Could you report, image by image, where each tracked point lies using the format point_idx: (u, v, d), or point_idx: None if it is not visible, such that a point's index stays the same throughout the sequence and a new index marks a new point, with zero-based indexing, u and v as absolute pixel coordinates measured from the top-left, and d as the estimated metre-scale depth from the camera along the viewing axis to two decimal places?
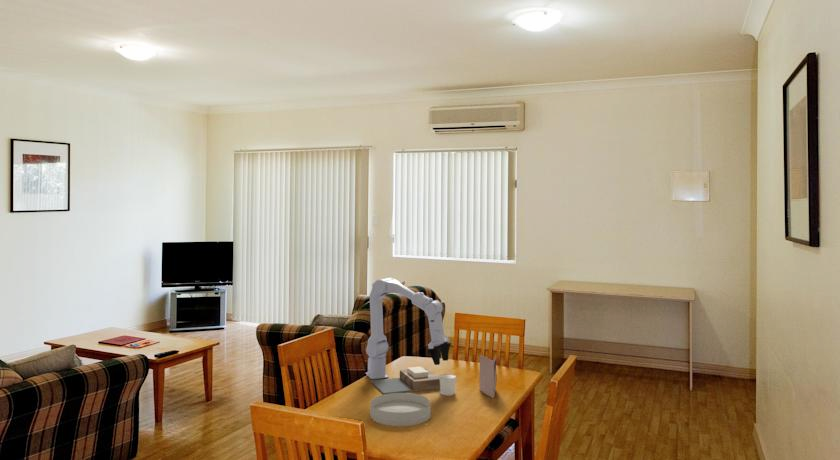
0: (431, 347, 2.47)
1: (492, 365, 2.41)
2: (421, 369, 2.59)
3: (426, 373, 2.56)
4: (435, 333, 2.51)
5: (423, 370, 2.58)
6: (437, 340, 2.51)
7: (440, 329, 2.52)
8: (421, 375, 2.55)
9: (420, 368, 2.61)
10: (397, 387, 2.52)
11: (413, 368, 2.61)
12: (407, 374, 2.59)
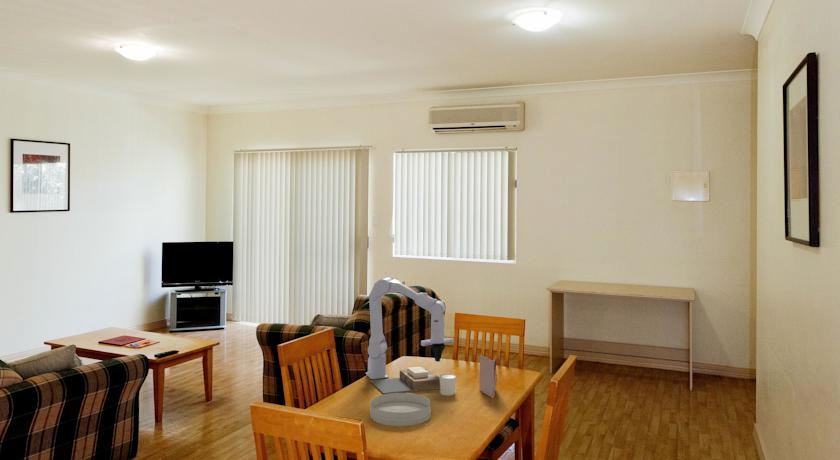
0: (422, 344, 2.59)
1: (492, 365, 2.41)
2: (421, 369, 2.59)
3: (426, 373, 2.56)
4: (432, 332, 2.60)
5: (423, 370, 2.58)
6: (432, 339, 2.60)
7: (442, 329, 2.59)
8: (421, 375, 2.55)
9: (420, 368, 2.61)
10: (397, 387, 2.52)
11: (413, 368, 2.61)
12: (407, 374, 2.59)
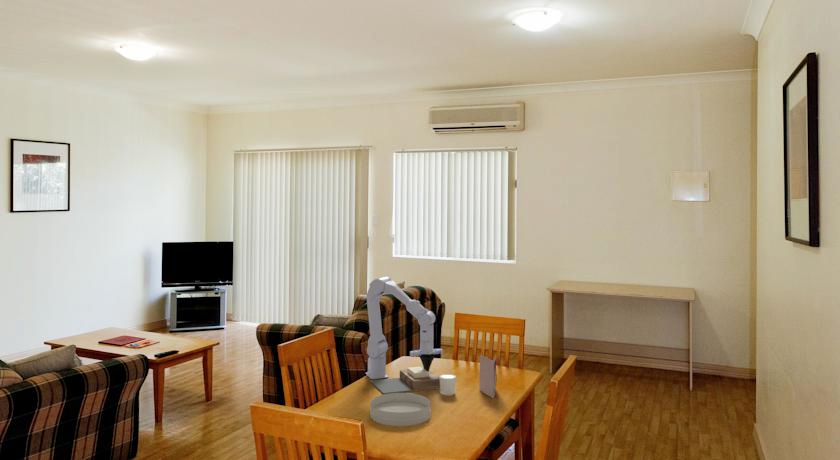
0: (411, 355, 2.57)
1: (492, 365, 2.41)
2: (421, 369, 2.59)
3: (426, 373, 2.56)
4: (421, 343, 2.58)
5: (423, 370, 2.58)
6: (421, 350, 2.58)
7: (431, 340, 2.58)
8: (421, 375, 2.55)
9: (420, 368, 2.61)
10: (397, 387, 2.52)
11: (413, 368, 2.61)
12: (407, 374, 2.59)
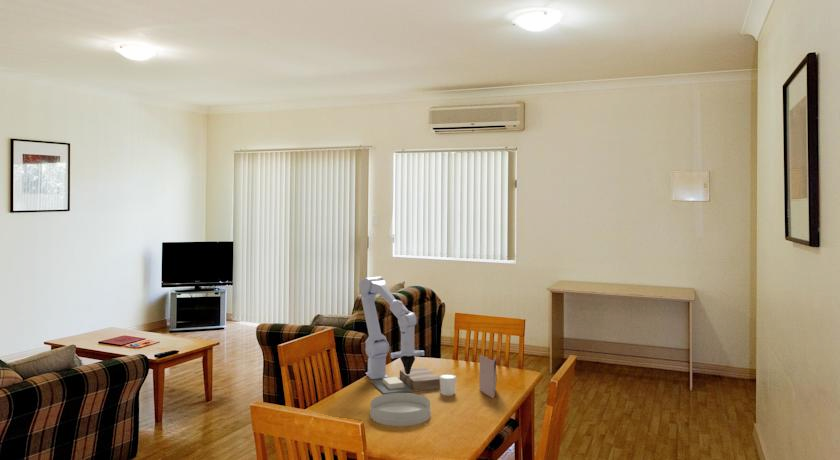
0: (391, 357, 2.54)
1: (492, 365, 2.41)
2: None
3: (391, 387, 2.50)
4: (402, 344, 2.55)
5: None
6: (402, 352, 2.55)
7: (409, 342, 2.54)
8: (396, 385, 2.51)
9: None
10: None
11: None
12: (407, 374, 2.59)
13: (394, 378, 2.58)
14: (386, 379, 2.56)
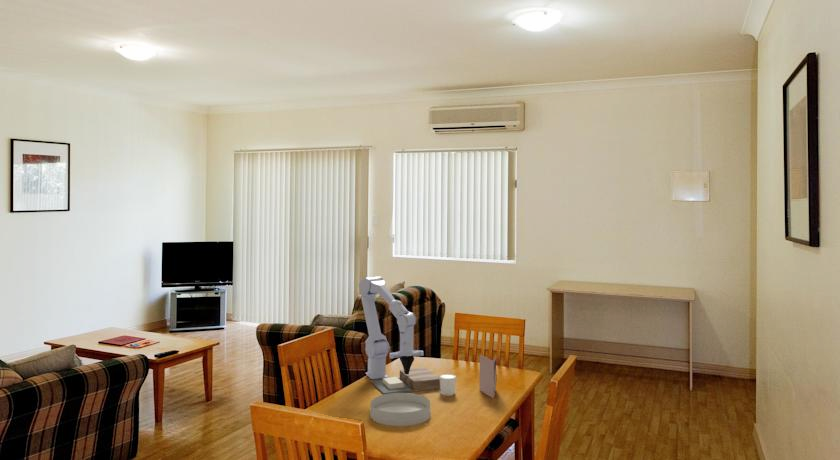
0: (390, 357, 2.54)
1: (492, 365, 2.41)
2: None
3: (391, 387, 2.50)
4: (401, 344, 2.55)
5: None
6: (401, 352, 2.55)
7: (408, 342, 2.54)
8: (396, 385, 2.51)
9: None
10: None
11: None
12: (407, 374, 2.59)
13: (394, 378, 2.58)
14: (386, 379, 2.56)
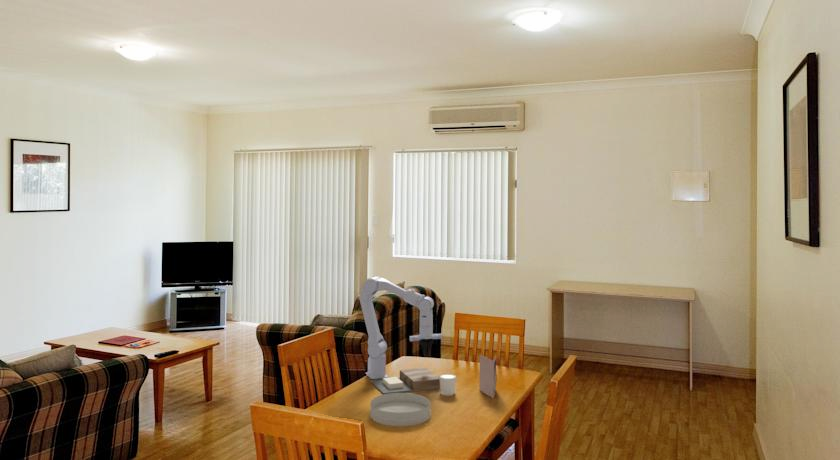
0: (410, 340, 2.60)
1: (492, 365, 2.41)
2: None
3: (391, 387, 2.50)
4: (420, 328, 2.61)
5: None
6: (421, 335, 2.61)
7: (431, 325, 2.61)
8: (396, 385, 2.51)
9: None
10: None
11: None
12: (407, 374, 2.59)
13: (394, 378, 2.58)
14: (386, 379, 2.56)
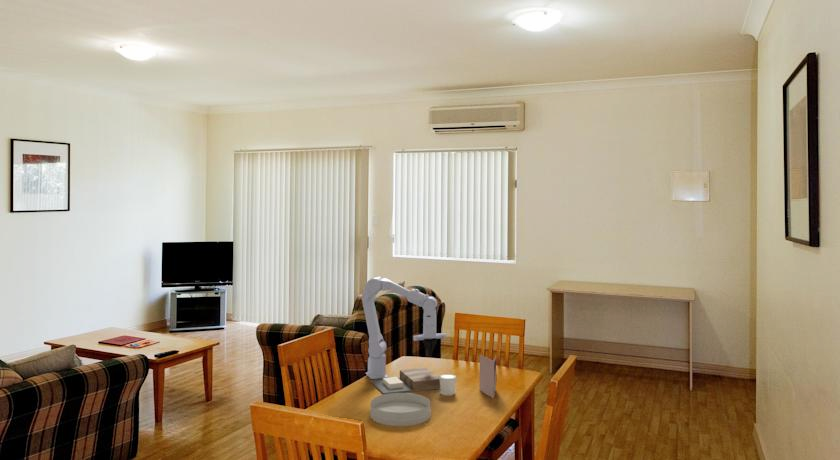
0: (414, 339, 2.62)
1: (492, 365, 2.41)
2: None
3: (391, 387, 2.50)
4: (424, 327, 2.63)
5: None
6: (425, 334, 2.62)
7: (435, 324, 2.62)
8: (396, 385, 2.51)
9: None
10: None
11: None
12: (407, 374, 2.59)
13: (394, 378, 2.58)
14: (386, 379, 2.56)
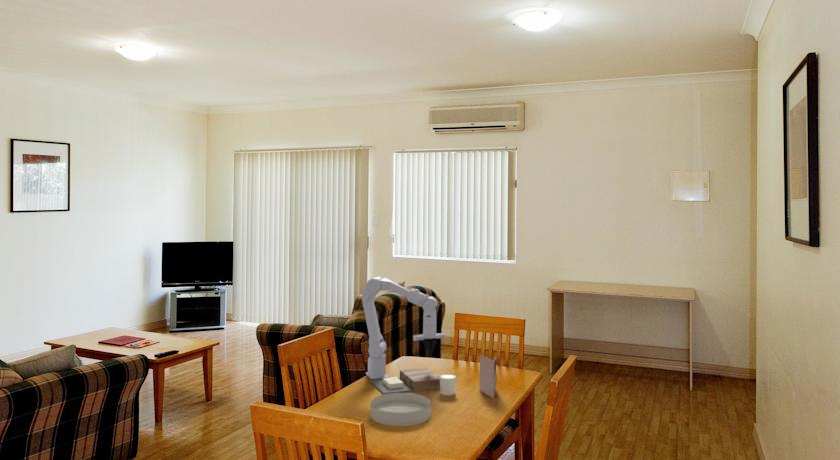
0: (414, 339, 2.62)
1: (492, 365, 2.41)
2: None
3: (391, 387, 2.50)
4: (424, 327, 2.63)
5: None
6: (425, 334, 2.62)
7: (435, 324, 2.62)
8: (396, 385, 2.51)
9: None
10: None
11: None
12: (407, 374, 2.59)
13: (394, 378, 2.58)
14: (386, 379, 2.56)
